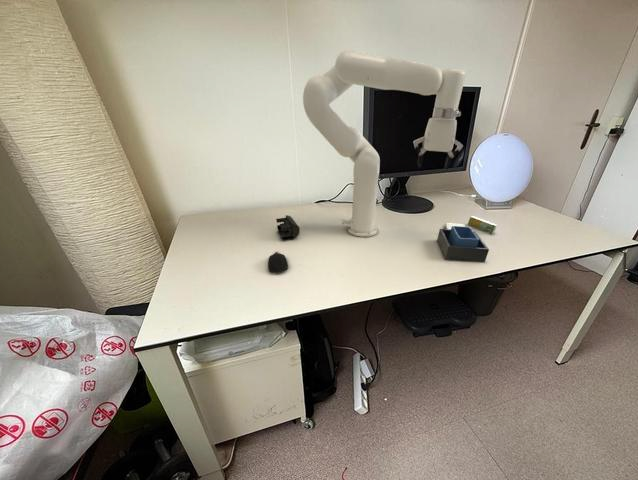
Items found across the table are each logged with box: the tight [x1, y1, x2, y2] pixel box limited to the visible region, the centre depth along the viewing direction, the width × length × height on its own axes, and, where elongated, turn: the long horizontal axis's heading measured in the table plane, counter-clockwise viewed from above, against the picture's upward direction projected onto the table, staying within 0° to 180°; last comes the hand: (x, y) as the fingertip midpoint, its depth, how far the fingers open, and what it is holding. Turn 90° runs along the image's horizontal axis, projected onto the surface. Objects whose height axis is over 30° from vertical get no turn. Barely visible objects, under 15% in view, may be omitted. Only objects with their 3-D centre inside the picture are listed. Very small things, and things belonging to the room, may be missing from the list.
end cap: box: [275, 214, 301, 242], centre depth 111 cm, size 10×7×7 cm
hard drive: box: [444, 222, 466, 229], centre depth 120 cm, size 2×8×12 cm
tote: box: [436, 228, 490, 263], centre depth 105 cm, size 14×16×5 cm
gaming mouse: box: [267, 251, 289, 274], centre depth 93 cm, size 6×15×4 cm, turn 16°
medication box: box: [467, 215, 498, 235], centre depth 123 cm, size 12×3×4 cm, turn 38°
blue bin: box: [448, 226, 479, 248], centre depth 104 cm, size 7×11×7 cm, turn 175°
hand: (432, 167), depth 101 cm, fingers open, 9 cm apart
